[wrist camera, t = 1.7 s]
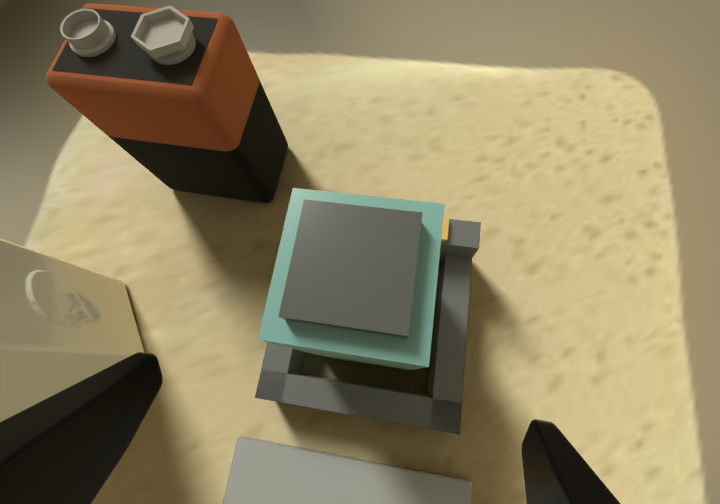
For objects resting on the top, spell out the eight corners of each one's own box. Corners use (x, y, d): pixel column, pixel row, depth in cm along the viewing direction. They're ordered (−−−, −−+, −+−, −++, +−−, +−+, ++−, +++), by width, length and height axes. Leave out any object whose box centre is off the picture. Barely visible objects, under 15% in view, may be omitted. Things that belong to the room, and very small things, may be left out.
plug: (409, 370, 19) (431, 366, 9) (322, 356, 19) (249, 337, 9) (418, 284, 20) (447, 194, 10) (337, 274, 20) (287, 177, 10)
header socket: (450, 426, 18) (467, 441, 14) (272, 394, 19) (239, 400, 15) (463, 250, 20) (482, 219, 16) (306, 231, 21) (286, 198, 17)
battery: (273, 207, 22) (186, 81, 13) (168, 191, 23) (12, 62, 13) (291, 143, 23) (224, -14, 14) (191, 131, 24) (63, -25, 15)
